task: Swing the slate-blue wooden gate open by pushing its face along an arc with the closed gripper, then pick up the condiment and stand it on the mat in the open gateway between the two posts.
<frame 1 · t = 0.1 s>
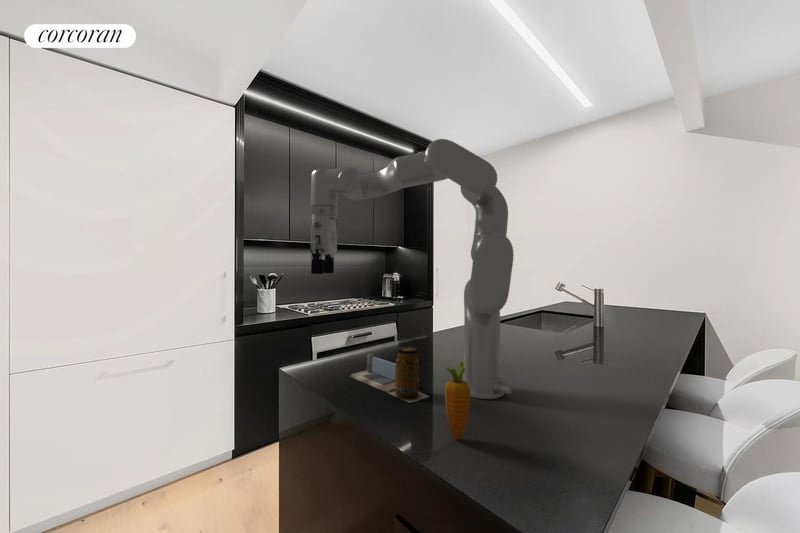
hand: (323, 273, 96), 31 cm above the counter, tool pointing down, fingers open, 9 cm apart
condiment: (408, 396, 87), on the counter
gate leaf: (384, 368, 99), point 3 cm above the counter, hinge at 0.0°
gate frame: (384, 379, 99), on the counter
carrot: (456, 440, 65), on the counter
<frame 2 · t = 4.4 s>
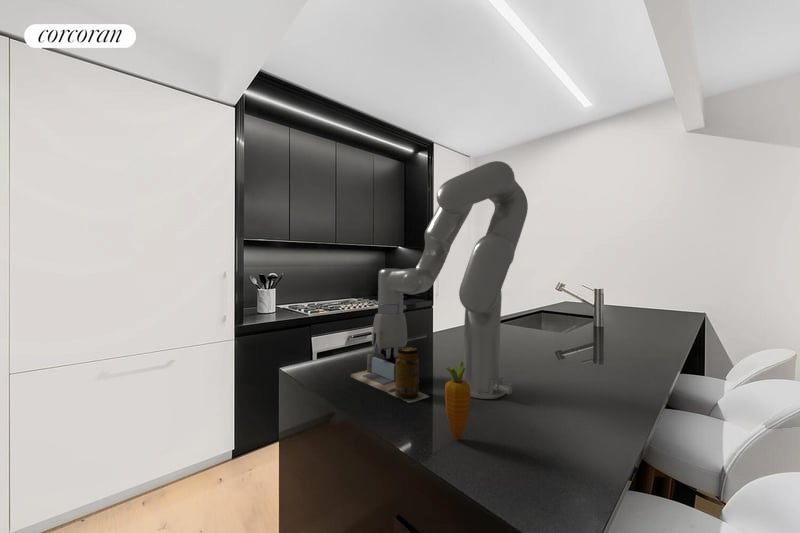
hand: (389, 370, 101), 2 cm above the counter, tool pointing down, fingers closed
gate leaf: (383, 368, 98), point 3 cm above the counter, hinge at 3.0°, touching gripper
everything else where it was.
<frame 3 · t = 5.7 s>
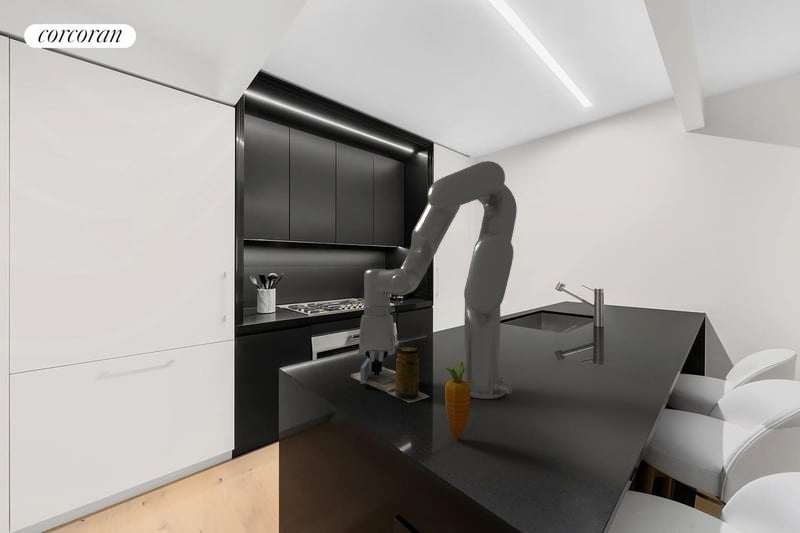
hand: (376, 373, 97), 2 cm above the counter, tool pointing down, fingers closed
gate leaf: (366, 369, 97), point 3 cm above the counter, hinge at 50.4°, touching gripper
everything else where it was.
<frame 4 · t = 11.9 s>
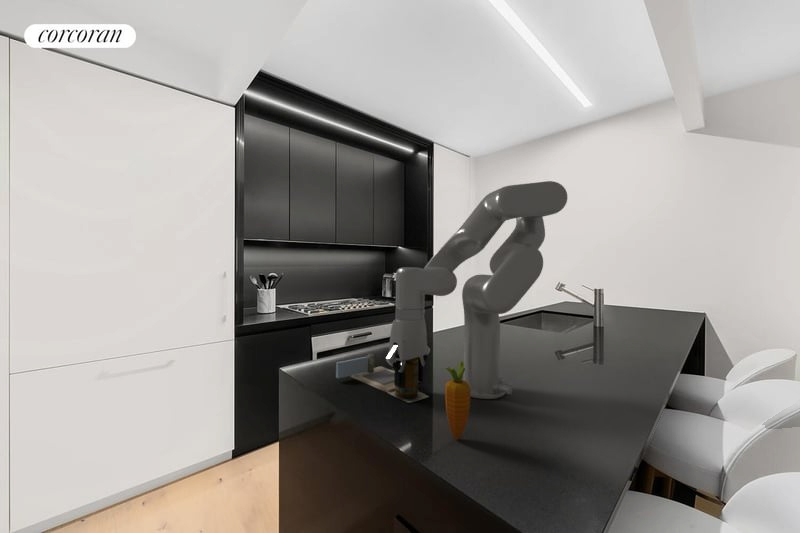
hand: (408, 382, 87), 3 cm above the counter, tool pointing down, fingers closed on condiment, 6 cm apart
condiment: (408, 396, 87), on the counter, touching gripper
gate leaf: (352, 367, 99), point 3 cm above the counter, hinge at 94.1°
everything else where it was.
when the fingers open (6 cm above the counter, at t = 17.5 s): condiment drops 1 cm, resting on gate frame.
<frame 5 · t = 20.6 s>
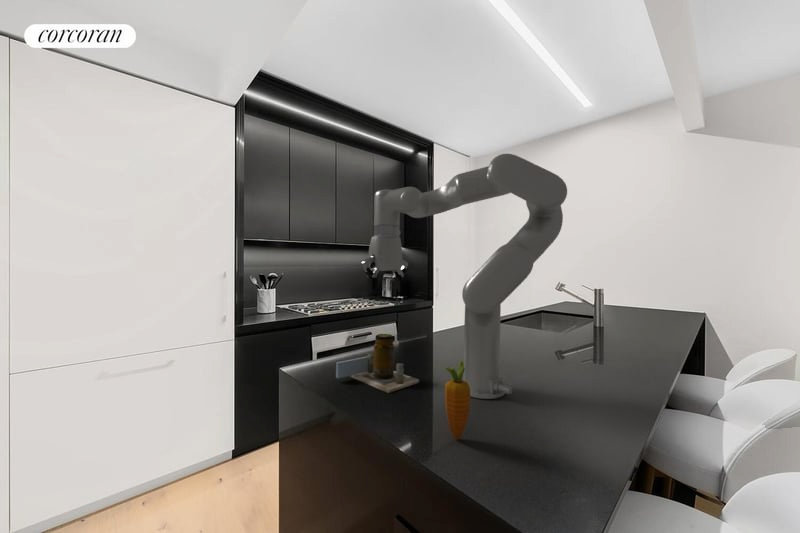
hand: (385, 290, 99), 26 cm above the counter, tool pointing down, fingers open, 9 cm apart
condiment: (384, 377, 99), point 1 cm above the counter, touching gate frame
everything else where it was.
at the end: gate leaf at +94° (first picture: +0°); condiment 0.2 cm off-centre on the gate frame, point 0.8 cm above the gate frame's base; condiment tilted 0° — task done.
